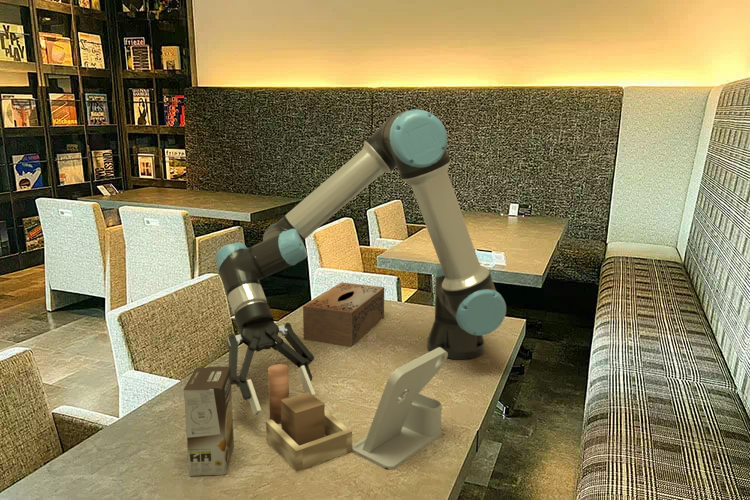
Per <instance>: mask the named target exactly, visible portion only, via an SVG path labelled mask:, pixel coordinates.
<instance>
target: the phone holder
mask: <svg viewBox="0 0 750 500" xmlns="http://www.w3.org/2000/svg"><path fill="white" fill-rule="evenodd" d="M447 356H448V353H447V352H446V351H445V350H444V349H442V348H441V347H438V348H436V349H434V350H432V351H428V352H427V353H425V354H422V355H421V356H419V357H417V358H415V359H412V360H411V361H408V362H406V363H405V364H403V365H401V366H399V367H397V368H396V369H394V370H393V371H392V372H391V374H390V375H389V377H388V378H387V382H386V384H385V386H384V389H383V391H382V395H381V397H380V400H379V402H378V406H377V408H376V411H375V414H374V417H373V418H372V421H371V425H370V428H369V429H368V430H369V431H368V433H367V435H366V436H365V437H363V438H361V439H360V440H359V441H357V442H355V443H354V444H352V451H351V452H352V453H353V454H354V455H356V456H358V457H360V458H362V459H364V460H366V461H368V462H369V463H372V464H374V465H376V466H378V467H380V468H382V469H388V470H389V471H393V470H395V469H397V468H398V467H400V466H401V465H402V464H404V463H405V462H406V461H408V460H410V459H411V458H412V457H414V456H415V455H417V454H418V453H419V452H420V451H422V450H423V449H424V448H426V447H428V446H429V445H430V444H432V443H434V441H436V440H437V439H438V438H440V437H442V436H443V429H442V410H443V409H442V408H443V405H442V403H441V402H440V401H439V400H438V399H435V398H432V397H429V396H427V395H424V394H421V393H420V392H422V390H423V389H424V388H425V387H426V385H427V384H428V383H430V381H431V380H432V379H433V378H434V377H435V376H436V374H438V372H439V371H440V370H441V369H442V368H443V367H444V365H445V363H446V361H447V359H448V358H447ZM388 470H387V471H388Z"/></svg>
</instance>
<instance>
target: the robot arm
mask: <svg viewBox="0 0 750 500" xmlns="http://www.w3.org/2000/svg"><path fill="white" fill-rule="evenodd" d="M447 135H448V134H447V131H446V128H445V126H444V124H443V122H442V121H441V120H440V119H439V118H438V117H437V116H436V115H434V114H433V113H430V112H429V111H426V110H423V109H410V110H404V111H402V110H401V111H398V112H396V113H394V114H392V115H391V116H390V117H389V118H388V119H387V120H385V121H384V123H383V124H382V125H381V126H380V127H379V128H377V130H376V131H375V132H374V133H372V135H370V136H369V137H368V138H367V139H366V140H365V141H363V142H364V143H363V148H362V149H361V150H360V151H359V152H358V153H356V154H355V155H354V156H353V157H352V158H350V159H349V160H348V161H347V162H346V163H345V164H343V165H342V166H341V167H339V169H337V170H336V171H335V172H334V173H333V174H332V175H330V176H329V177H328V178H327V179H325V181H324V182H322V184H320V185H319V186H318V187H316V188H315V189H314V190H313V191H312V192H311V193H310V194H308V195H307V196H305V198H304V199H303V200H301V201H299V203H298V204H296V205H295V206H294V207H293V208H292V209H291V210H290V211H289V212H287V213H286V214H285V215H284V216H283V217H281V219H279V220H278V221H277V222H276V223H273V224H271V225H270V226H268V228H266V229H265V231H264V234H263V237H262V241H261V242H258V243H256V244H254V245H252V246H249V247H247V246H246V244H244V243H242V242H234V243H232V244H231V243H228V244H226V245H223V246H222V247H220V248H219V249H218V250H217V252H216V253H215V263H216V266H217V267H216V268H217V270H218V271H217V272H218V275H219V276H220V281H221V282H222V285H223V287H224V288H223V289H224V290H225V294H226V296H227V300H228V303H229V305H230V309H231V311H232V314H233V315H234V319H235V323H236V326H237V328H238V332H239V334H237V335H235V334H234V333H231V334H229V335H228V338H227V340H226V345H227V347H228V350H229V351H228V365H227V367H229V366H230V367H231V386H232V385H236V386H237V388H239V390H240V393H241V397H242V399H243V400H244V401H246V400H248V403H249V406H250V408H251V412H252V415H253V417H256V416H258V415H259V414H260V413H261V412H262V408H261V405H260V402H259V399H258V396H257V393H256V390H255V388H254V384H253V381H252V379H251V378H250V379H247V378H248V374H249V371H250V367H251V364H252V360H253V357H254V354H255V352H261V351H263V350H271V349H272V350H274V351H277V352H278V353H279V354H281V355H282V356H284V357H285V359H287V360H288V361H290V362H291V363H292V364H293V365H295V366H296V367H297V368H298V369H297V371H296V372H297V377H298V379H299V381H300V384H301V386H302V389H303V390H304V392H303V393H306V392H310V393H311V394H312V395H314V396H316V392H315V390H314V388H313V385H312V382H311V381H312V380H313V374H312V372H311V369H310V367H309V365H310V364H311V363H312V362H313V361H314V359H315V356H314V354H313V353H312V352H311V351H310V349H309V348H308V347H307V346H306V344H304V343H303V341H302V339H300V337H299V336H298V335H297V334H296V332H295V331H294V329H293V327H292V324H291V323H290V322H289V321H288V322H287V321H286V322H285V324H284V325H277V324H276V322H275V320H274V316H273V313H272V310H271V308H270V305H269V304H268V299H267V298H266V295H265V292H264V289H263V287H262V283H261V281H260V280H262V279H265V278H267V277H269V276H271V275H274V274H276V273H278V272H281V271H282V270H286V269H287V268H289V267H291V266H295V265H297V264H298V263H301V262H302V261H304V260H305V259H306V258H308V252H307V249H306V247H305V246H306V245H304V241H305V240H306V239H307V238H308V237H309V236H310V235H311V234H313V233H314V232H316V230H318V229H319V228H320V227H321V226H322V225H324V224H325V223H326V222H327V221H328V220H329V219H330V218H332V217H333V216H334V215H335V214H337V213H338V212H339V211H340V210H341V209H343V208H344V207H345V206H346V205H347V204H348V203H349V202H350V201H352V200H353V199H354V198H355V197H356V196H359V195H360V193H361V192H363V191H364V190H365V189H366V188H367V187H369V185H371V183H373V182H374V181H375V180H376V179H378V177H380V176H381V175H383V174H384V173H389V174H390V173H391V172H392V171H394V170H395V168H397V171H398V172H399V173H398V174H399V175H400V178H401V181H403V182H405V183H407V184H410V186H411V189H412V191H413V195H414V197H415V200H416V202H417V205H418V208H419V211H420V212H421V216H422V218H423V222H424V224H425V226H426V228H427V233H428V234H429V238H430V240H431V242H432V246H433V248H434V251H435V253H436V257H437V258H438V262H439V263H440V265H439V266H438V267H437V269H436V273H435V303H434V305H435V306H434V321H433V324H432V327H431V329H430V331H429V334H428V337H427V340H426V341H427V342H426V343H427V345H426V346H427V347H426V348H427V350H428V352H430V351H432V350H434V349H436V348H438V347H441V348H442V349H444V350H445V351H446V352H447V353H448V356H447V359H450V360H451V359H452V360H469V359H475V358H477V357H480V356H482V355H483V354H484V352H485V340H484V336H485V335H489V334H491V333H492V332H495V331H496V330H497V329H498V328H499V327H500V326H501V325H502V323H503V321H504V319H505V317H506V315H507V304H506V301H505V299H504V297H503V296H502V294H501V293H500V292H498V291H497V289H496V287H495V284H494V282H493V278H492V276H491V272H490V270H489V268H487V267H486V266H483V265H481V264H480V262H479V258H478V256H477V253H476V249H475V247H474V245H473V241H472V239H471V235H470V233H469V230H468V227H467V224H466V221H465V219H464V216H463V213H462V209H461V207H460V204H459V202H458V199H457V196H456V192H455V190H454V187H453V184H452V181H451V179H450V177H449V173H448V169H449V167H450V165H451V162H452V161H451V157H450V156H449V155H450V154H449V151H448V149H447V144H448V136H447ZM358 194H359V195H358ZM279 333H280V334H281V336H282V337H284V338H285V340H286V341H287V342H288V343H289V345H288V343H286V342H285V341H284V339H283V338H282V337H280V336H279ZM240 342H242V343H243V344H244V345H245V346H247V348H246V352H245V356H244V359H243V362H242V366H241V369H240V372H239V375H238V374H237V373H238V356H239V355H238V352H239V351H238V350H239V344H240Z"/></svg>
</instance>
